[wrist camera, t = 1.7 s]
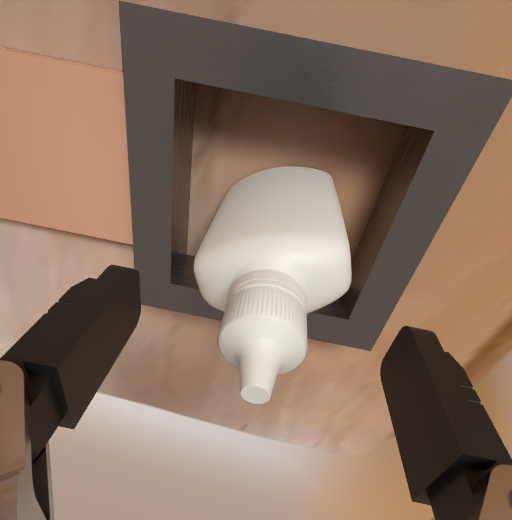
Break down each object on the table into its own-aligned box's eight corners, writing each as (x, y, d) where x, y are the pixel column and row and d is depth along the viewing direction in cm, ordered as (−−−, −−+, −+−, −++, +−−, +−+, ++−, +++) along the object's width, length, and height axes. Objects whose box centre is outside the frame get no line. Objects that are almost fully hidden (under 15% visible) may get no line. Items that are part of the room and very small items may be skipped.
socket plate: (152, 10, 13) (118, 0, 11) (478, 76, 13) (519, 81, 11) (155, 273, 21) (136, 303, 19) (362, 315, 21) (370, 351, 19)
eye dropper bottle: (312, 245, 19) (328, 467, 9) (221, 214, 18) (127, 410, 8) (347, 177, 16) (423, 375, 6) (243, 139, 16) (147, 288, 6)
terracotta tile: (-58, 35, 15) (-74, 34, 14) (132, 73, 15) (124, 74, 14) (-2, 209, 20) (-13, 215, 19) (139, 238, 20) (133, 245, 19)
